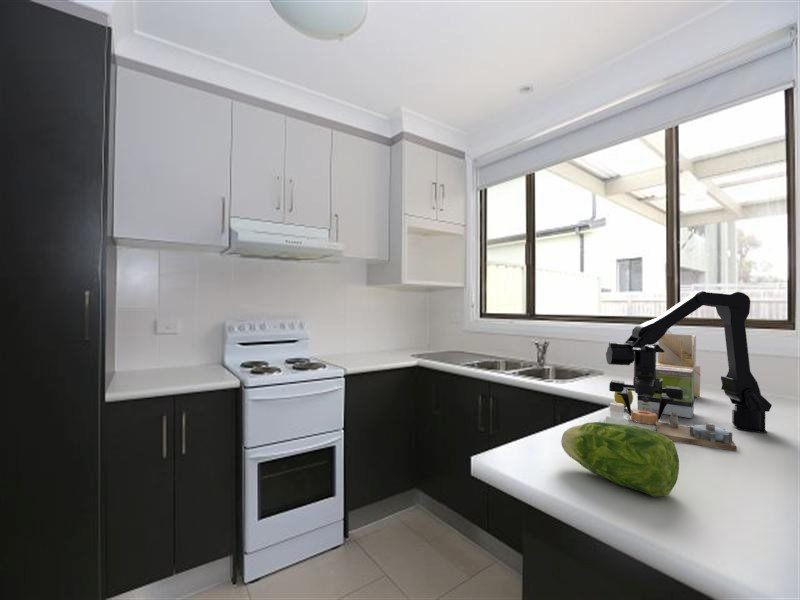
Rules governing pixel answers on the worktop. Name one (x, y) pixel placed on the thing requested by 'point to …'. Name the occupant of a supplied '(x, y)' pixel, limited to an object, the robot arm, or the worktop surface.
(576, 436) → the lettuce
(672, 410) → the tea box
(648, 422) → the gear
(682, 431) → the gear board
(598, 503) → the worktop surface
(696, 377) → the cream block pieces
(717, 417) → the worktop surface
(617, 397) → the lemon
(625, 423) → the pepper shaker
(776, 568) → the worktop surface
